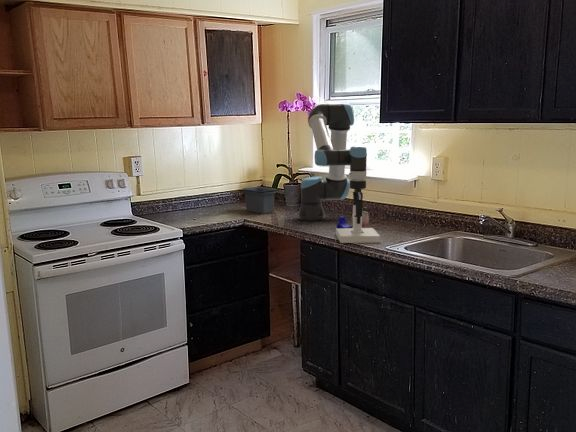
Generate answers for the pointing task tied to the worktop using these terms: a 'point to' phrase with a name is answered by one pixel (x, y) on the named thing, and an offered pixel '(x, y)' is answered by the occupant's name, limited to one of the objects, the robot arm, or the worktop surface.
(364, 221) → the decorative fruit
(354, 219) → the tube
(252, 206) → the storage bin
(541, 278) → the worktop surface
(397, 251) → the worktop surface
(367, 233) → the socket block
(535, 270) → the worktop surface
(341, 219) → the blue shoe
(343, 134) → the robot arm
